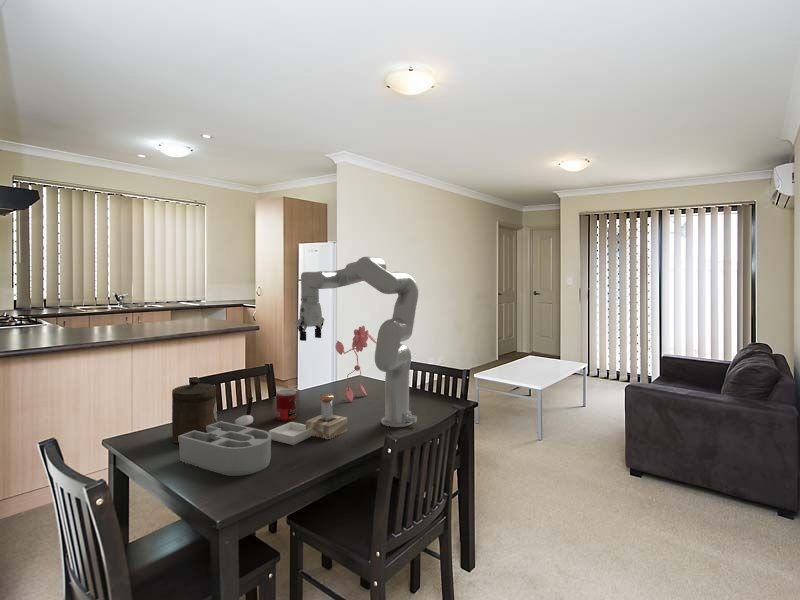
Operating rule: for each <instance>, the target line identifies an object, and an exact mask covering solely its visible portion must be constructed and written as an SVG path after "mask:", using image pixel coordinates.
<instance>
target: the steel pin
mask: <svg viewBox="0 0 800 600" xmlns="http://www.w3.org/2000/svg"><path fill="white" fill-rule="evenodd" d="M334 399H335V395H334V394H332V393H323V394H320V395H319V400H320V402H321V403H320V404H321V405H320V408H321V413H320V415H321V421H322V422H327V423H329V422H331V421H332V415H333V400H334Z"/></svg>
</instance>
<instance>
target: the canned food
mask: <svg viewBox="0 0 800 600" xmlns="http://www.w3.org/2000/svg"><path fill="white" fill-rule="evenodd" d="M276 418H277V420H278V421H280V420H281V421H282V422H289V420H290V421H294V420H295V419H296V418H297V392H296V390H294V389H282V390H277V391H276ZM293 419H294V420H293Z"/></svg>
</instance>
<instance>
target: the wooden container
mask: <svg viewBox="0 0 800 600" xmlns="http://www.w3.org/2000/svg"><path fill="white" fill-rule="evenodd" d="M188 383H189V384H186V385H180V386H177V387H175V388H173V389H172V391H171V398H172V399H171V400H172V401H171V410H172V411H171V422H172V424H171V426H172V430H171V431H172V433H171V434H172V437H171V438H172V442H173V441H174V442H175V444H176V443H179V442H178V436H179V435H182V434H185V433H188V432H191V431H194V430H196V431H200V432H204V433H207V431H206V426H208V425H211V424H214V423H216V422H218V413H217V412H218V409H217V386H216V385H215V384H211V383H200V379H199V378H198V377H191V378H190V379H189V380H188ZM174 442H173V443H174Z"/></svg>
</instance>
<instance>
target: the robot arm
mask: <svg viewBox="0 0 800 600" xmlns="http://www.w3.org/2000/svg"><path fill="white" fill-rule="evenodd" d="M361 282H365V283H367V284H368V285H370V287H372V288H374V289H375V290H377V291H378V292H380V293H381V294H384V295H396V294H397V297H396V298H397V299H396V301H395V303H394V306H393V307H394V308H393V313H392V317H391V318H389V319H387V320H385V321H384V322H383V323H381V325H380V327H379V329H378V333H377V339H376V342H377V344H376V343H375V344H376V346H375V351H374V362H375V366H376V368H377V369H378V370H379V371H380V372H383V373H385V379H384V382H385V383H384V385H385V386H384V400H385V401H384V403H385V404H384V408H385V409H384V415H385V416H383V417H382V418H381V421H380V423H381V424H382V425H383V426H386V427H389V426H390V427H389V428H404V427H409V426H411V425H413V423H417V422H418V416H417V415H412V411H411V410H410V370H411V363H412V352H411V350H410V348H409V347H408V346H407V345H406V344H403V342H405V341H407V340H409V339H410V338H411V336H412V334H413V329H414V323H415V317H416V310H417V305H418V299H419V287H418V284H417V281H416V280H415V279H414V277H412V276H411V274H410V275H409V274H408V273H406V272H404V271H403V272H402V271H388V270H387V264H386V262H385V260H383V259H382V258H381V257H379V256H378V257H377V256H363V257H360V258H358V260H356V261H353V262H350V263H347V264H346V265H345V268H343V269H338V270H323V271H321V270H320V271H304V272H301V275H300V292H301V296H300V297H301V298H300V307H299V308H300V309H299V319H297V320H296V321H295V325H296V328H297V329H298V332H299V341H301V342H303V341H304V342H306V341H307V331H306V330H307V329H308V328H309V327H310V328H311V327H314V328H315V329H314V338H316V339H322V329H323V326H324V322H325V318H324V317H323V314H322V305H321V303H320V295H319V294H320V291H319V290H325V289H327V290H328V289H337V288H341V287H346V286H350V285H354V284H358V283H361Z"/></svg>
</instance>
